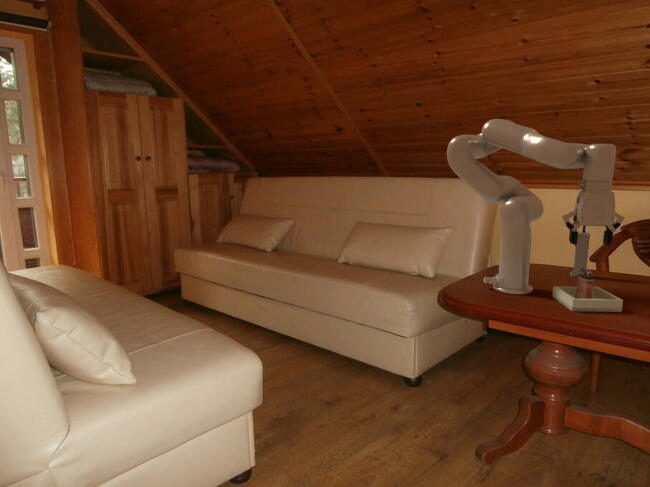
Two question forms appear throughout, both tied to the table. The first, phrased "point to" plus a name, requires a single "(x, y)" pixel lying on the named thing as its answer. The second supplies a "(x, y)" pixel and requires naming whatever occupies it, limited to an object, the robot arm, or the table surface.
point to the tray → (588, 300)
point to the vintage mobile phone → (581, 252)
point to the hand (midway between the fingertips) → (589, 244)
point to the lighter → (584, 284)
